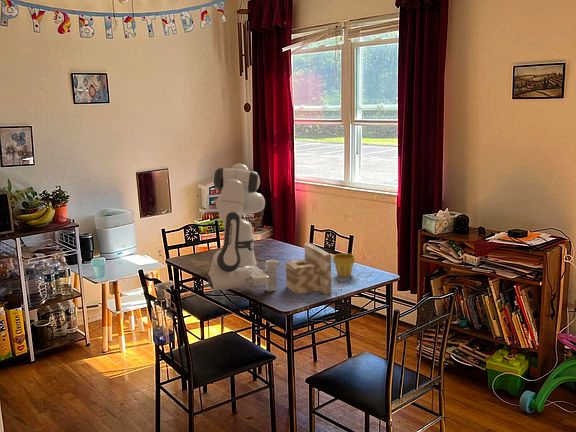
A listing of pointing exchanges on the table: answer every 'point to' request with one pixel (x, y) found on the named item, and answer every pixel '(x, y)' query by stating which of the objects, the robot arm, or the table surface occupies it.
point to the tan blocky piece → (310, 272)
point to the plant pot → (343, 264)
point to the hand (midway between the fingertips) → (272, 273)
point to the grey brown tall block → (269, 268)
